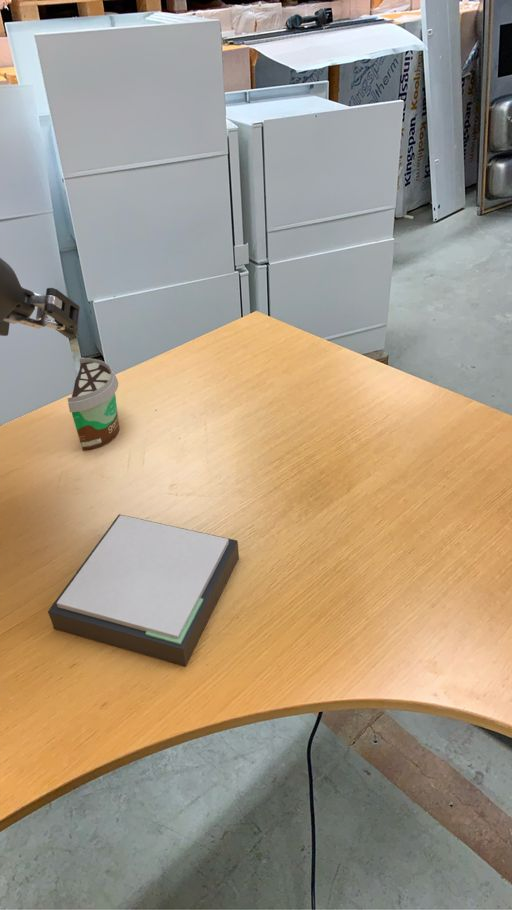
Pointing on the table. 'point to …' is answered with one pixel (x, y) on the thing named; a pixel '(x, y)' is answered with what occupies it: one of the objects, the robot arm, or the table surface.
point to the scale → (147, 588)
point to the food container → (94, 404)
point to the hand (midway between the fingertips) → (39, 329)
